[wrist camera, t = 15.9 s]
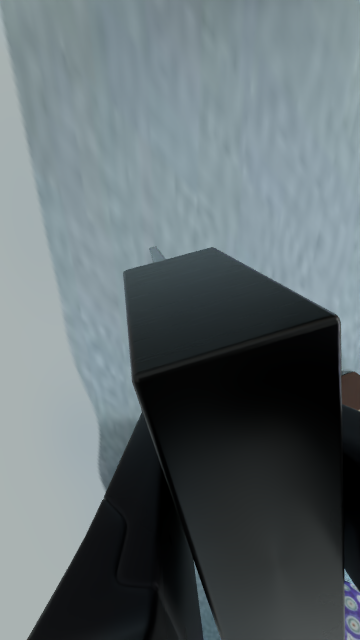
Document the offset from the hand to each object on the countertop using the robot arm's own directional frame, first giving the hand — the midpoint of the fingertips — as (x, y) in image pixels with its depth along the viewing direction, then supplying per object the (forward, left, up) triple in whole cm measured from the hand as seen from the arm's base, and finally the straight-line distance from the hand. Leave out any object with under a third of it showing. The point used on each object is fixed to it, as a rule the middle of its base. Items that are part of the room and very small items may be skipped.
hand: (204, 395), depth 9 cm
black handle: (0, 0, -6) cm, 6 cm away
